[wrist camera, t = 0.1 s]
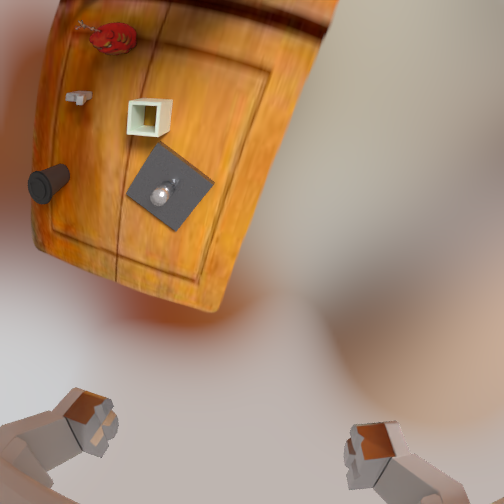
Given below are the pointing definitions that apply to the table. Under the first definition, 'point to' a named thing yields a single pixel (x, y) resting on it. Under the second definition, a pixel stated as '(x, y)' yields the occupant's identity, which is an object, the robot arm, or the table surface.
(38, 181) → the coffee cup
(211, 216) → the table surface
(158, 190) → the plate
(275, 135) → the table surface
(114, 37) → the red clay folk toy
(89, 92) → the lighter
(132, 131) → the sleeve
